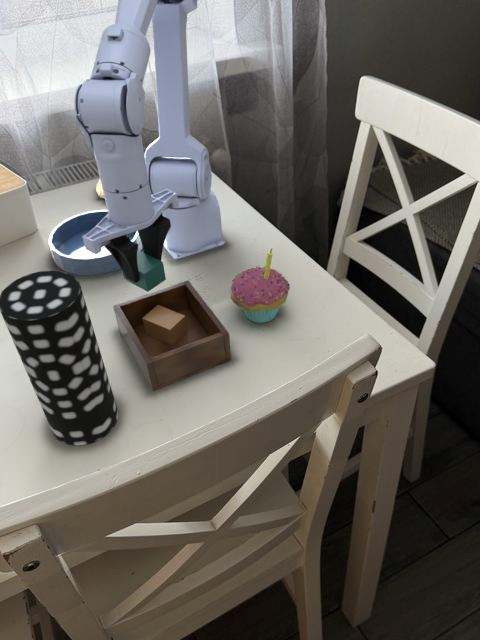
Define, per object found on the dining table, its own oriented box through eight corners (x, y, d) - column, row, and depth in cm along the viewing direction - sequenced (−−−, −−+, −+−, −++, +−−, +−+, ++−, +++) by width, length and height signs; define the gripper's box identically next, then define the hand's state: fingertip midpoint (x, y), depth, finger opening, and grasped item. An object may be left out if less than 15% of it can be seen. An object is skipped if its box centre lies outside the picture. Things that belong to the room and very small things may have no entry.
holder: (192, 306, 91) (188, 279, 88) (231, 360, 82) (229, 333, 79) (119, 331, 87) (112, 305, 84) (152, 391, 78) (146, 364, 75)
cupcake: (296, 301, 91) (296, 234, 83) (278, 337, 85) (277, 268, 77) (243, 291, 93) (239, 224, 85) (223, 325, 87) (216, 257, 79)
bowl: (126, 218, 110) (122, 201, 108) (156, 259, 100) (153, 241, 98) (44, 242, 105) (38, 225, 103) (67, 287, 95) (61, 269, 93)
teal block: (141, 267, 85) (138, 249, 83) (166, 279, 83) (163, 261, 81) (123, 279, 83) (119, 261, 81) (147, 292, 81) (144, 274, 79)
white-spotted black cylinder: (57, 397, 78) (8, 273, 64) (121, 392, 78) (85, 267, 65) (45, 448, 72) (-12, 323, 58) (115, 442, 72) (74, 317, 59)
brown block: (160, 320, 88) (157, 304, 86) (187, 331, 86) (185, 315, 84) (145, 334, 86) (142, 318, 84) (172, 345, 84) (169, 330, 82)
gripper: (146, 152, 79) (161, 239, 88) (57, 196, 71) (83, 287, 80) (184, 166, 76) (195, 255, 85) (95, 214, 68) (118, 307, 77)
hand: (143, 272), depth 82 cm, fingers closed on teal block, 3 cm apart
